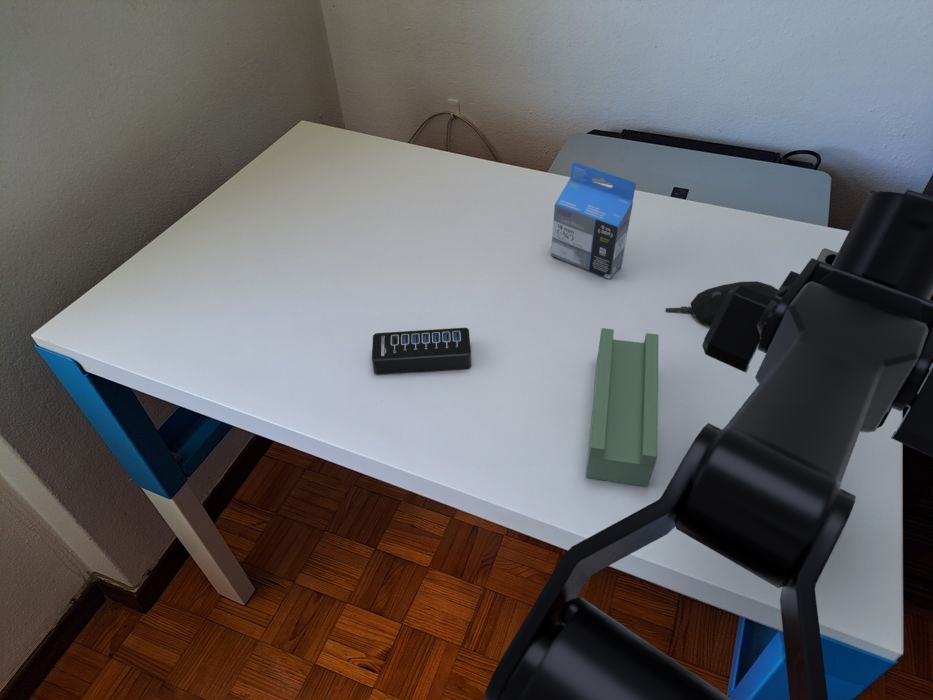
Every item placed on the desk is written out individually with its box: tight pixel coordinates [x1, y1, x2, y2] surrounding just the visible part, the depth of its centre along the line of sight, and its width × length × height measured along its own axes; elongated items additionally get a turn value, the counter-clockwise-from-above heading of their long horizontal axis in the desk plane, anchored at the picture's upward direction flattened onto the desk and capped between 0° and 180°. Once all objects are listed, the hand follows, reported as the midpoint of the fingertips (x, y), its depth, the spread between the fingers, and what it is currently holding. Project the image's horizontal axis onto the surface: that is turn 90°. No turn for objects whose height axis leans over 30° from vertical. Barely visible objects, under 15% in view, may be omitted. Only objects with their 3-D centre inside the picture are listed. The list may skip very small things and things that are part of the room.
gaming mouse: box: [665, 280, 779, 327], centre depth 80 cm, size 6×15×4 cm, turn 84°
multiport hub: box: [371, 327, 472, 376], centre depth 78 cm, size 4×11×2 cm, turn 93°
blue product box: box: [550, 160, 637, 280], centre depth 85 cm, size 9×4×12 cm, turn 54°
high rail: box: [585, 327, 660, 488], centre depth 70 cm, size 16×6×5 cm, turn 168°
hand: (832, 373), depth 59 cm, fingers closed on black hanger, 2 cm apart
